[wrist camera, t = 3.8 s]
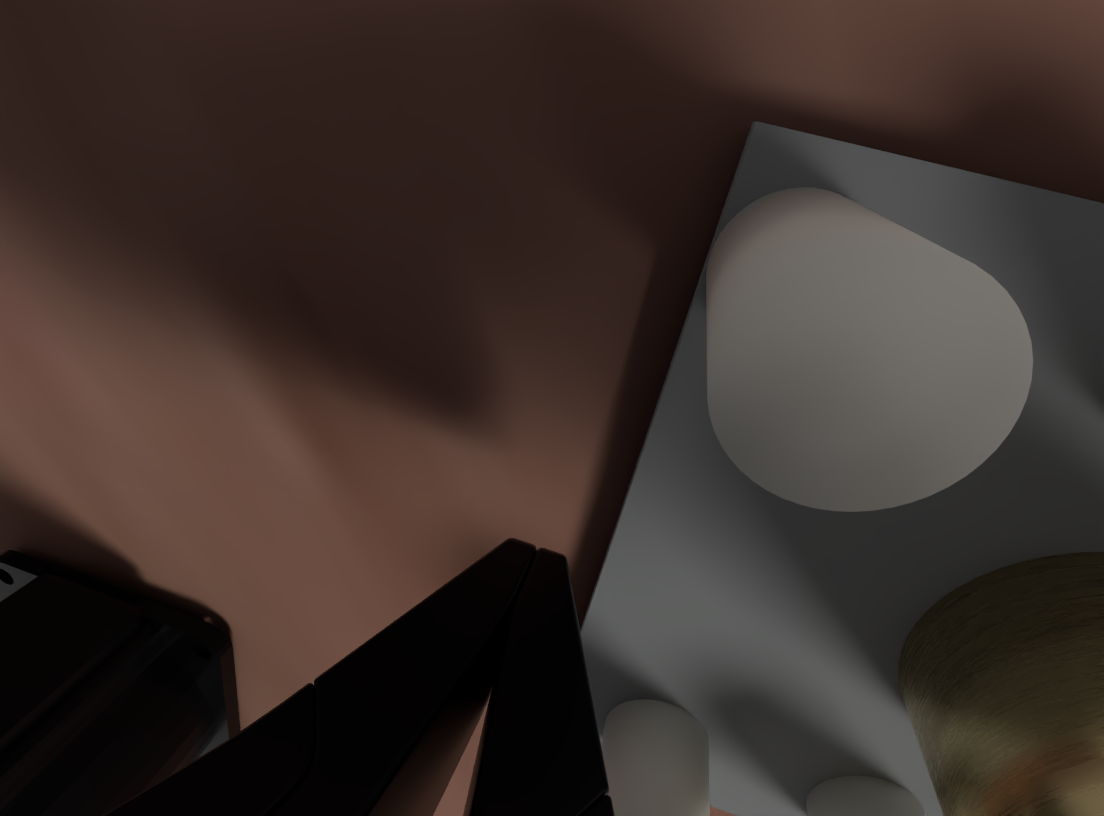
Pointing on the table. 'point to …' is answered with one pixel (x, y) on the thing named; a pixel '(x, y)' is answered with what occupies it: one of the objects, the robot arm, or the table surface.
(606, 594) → the mat
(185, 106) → the table surface
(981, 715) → the knob
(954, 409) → the spacers
